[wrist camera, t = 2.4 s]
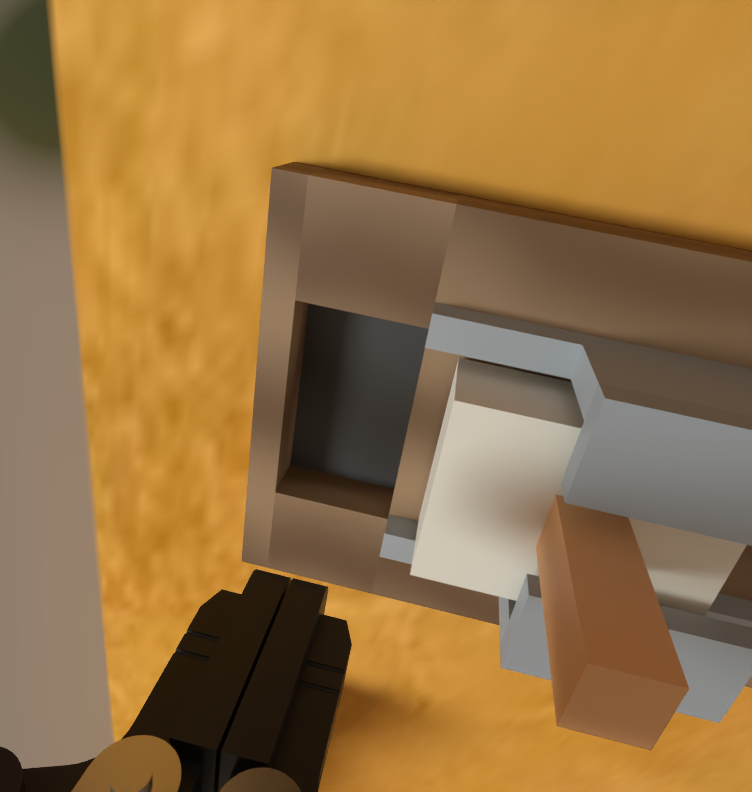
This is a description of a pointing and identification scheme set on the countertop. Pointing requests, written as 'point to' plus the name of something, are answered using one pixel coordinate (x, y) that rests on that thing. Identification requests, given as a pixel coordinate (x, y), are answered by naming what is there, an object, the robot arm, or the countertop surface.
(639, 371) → the tunnel
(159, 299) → the countertop surface
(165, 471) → the countertop surface
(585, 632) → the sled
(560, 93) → the countertop surface
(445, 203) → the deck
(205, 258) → the countertop surface
